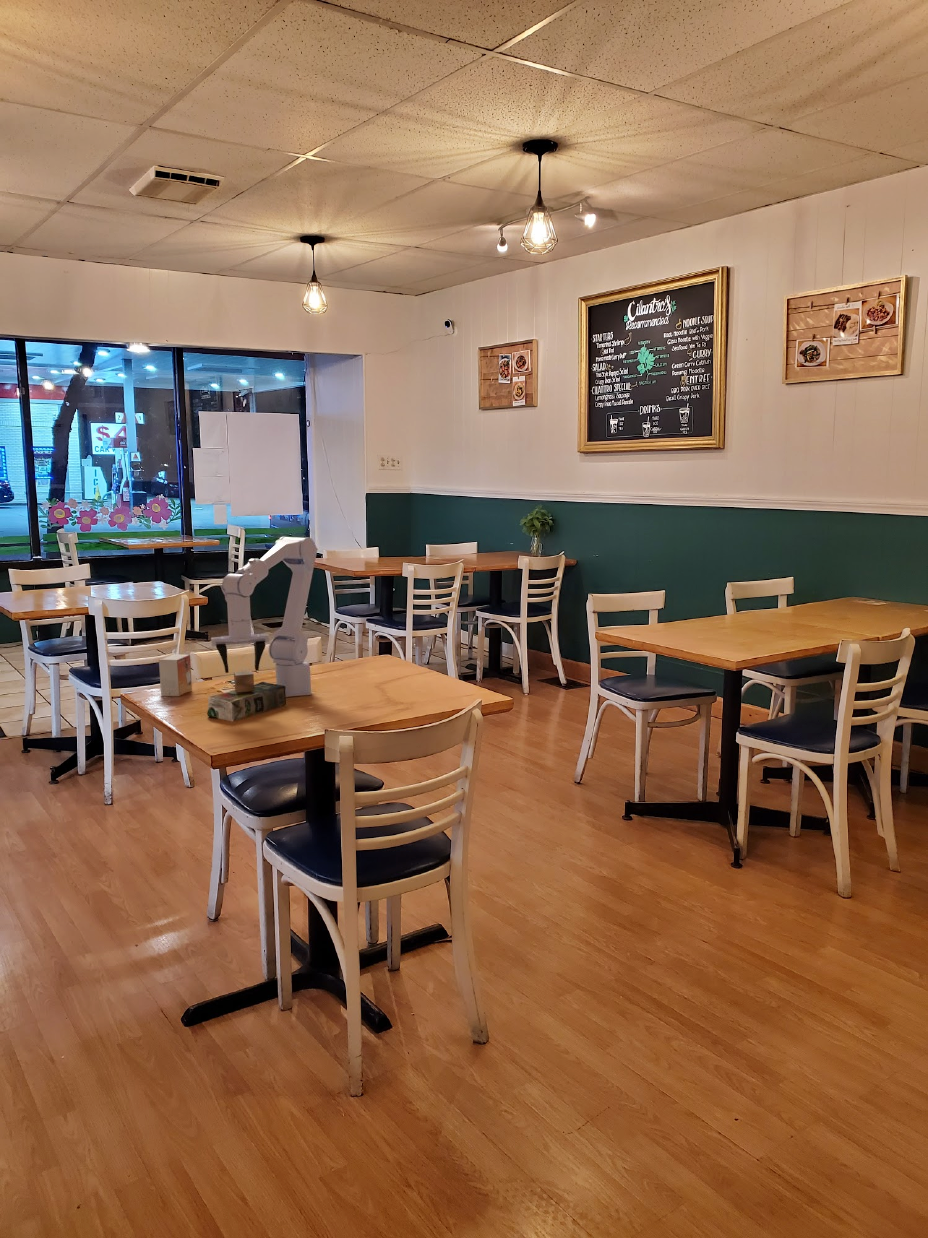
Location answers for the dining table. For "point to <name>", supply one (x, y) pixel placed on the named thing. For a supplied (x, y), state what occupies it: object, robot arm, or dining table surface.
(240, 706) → the juice carton
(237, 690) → the greyish beige block
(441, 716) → the dining table surface
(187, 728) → the dining table surface
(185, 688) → the small box
